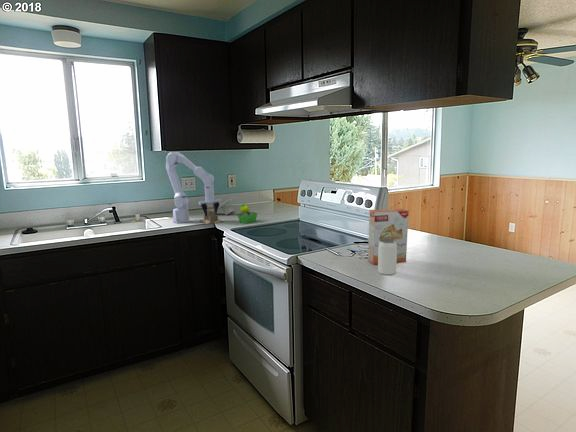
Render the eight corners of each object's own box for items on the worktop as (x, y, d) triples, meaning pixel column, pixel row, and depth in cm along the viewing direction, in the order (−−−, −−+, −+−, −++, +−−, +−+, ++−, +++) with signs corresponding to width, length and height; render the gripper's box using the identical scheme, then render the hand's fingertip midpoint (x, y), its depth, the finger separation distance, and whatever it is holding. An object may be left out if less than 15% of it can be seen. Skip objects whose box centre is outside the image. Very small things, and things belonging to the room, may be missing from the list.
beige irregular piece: (207, 224, 234) (206, 217, 234) (200, 221, 244) (199, 215, 243) (222, 222, 240) (221, 215, 239) (214, 219, 250) (214, 213, 249)
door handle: (211, 223, 265) (234, 209, 260) (205, 213, 265) (228, 199, 259) (221, 218, 282) (242, 205, 277) (215, 209, 282) (236, 195, 276)
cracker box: (373, 265, 148) (374, 212, 144) (367, 260, 153) (368, 209, 150) (407, 262, 150) (409, 210, 146) (400, 258, 156) (401, 207, 152)
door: (212, 221, 237) (211, 212, 236) (206, 219, 245) (205, 209, 244) (216, 220, 238) (215, 211, 237) (209, 218, 246) (209, 209, 245)
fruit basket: (245, 224, 232) (244, 205, 230) (235, 222, 238) (234, 204, 236) (258, 221, 241) (258, 203, 238) (248, 219, 246) (248, 202, 244)
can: (398, 275, 136) (399, 242, 133) (379, 275, 136) (380, 242, 134) (393, 269, 142) (394, 238, 140) (376, 269, 142) (377, 238, 140)
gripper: (200, 195, 231) (202, 217, 234) (222, 193, 239) (223, 214, 242) (196, 194, 237) (198, 215, 240) (218, 192, 245) (219, 213, 248)
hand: (210, 215), depth 241 cm, fingers open, 6 cm apart
